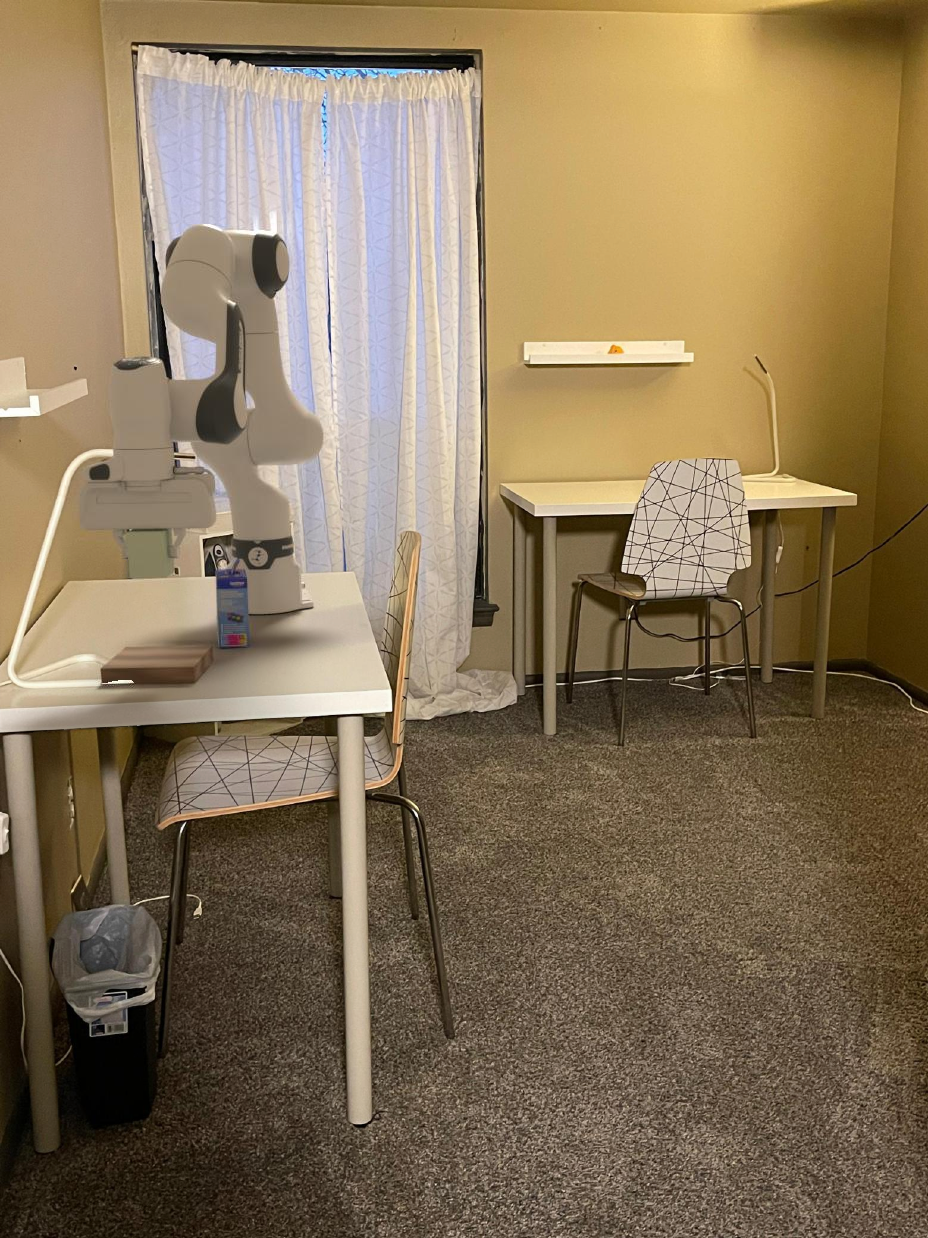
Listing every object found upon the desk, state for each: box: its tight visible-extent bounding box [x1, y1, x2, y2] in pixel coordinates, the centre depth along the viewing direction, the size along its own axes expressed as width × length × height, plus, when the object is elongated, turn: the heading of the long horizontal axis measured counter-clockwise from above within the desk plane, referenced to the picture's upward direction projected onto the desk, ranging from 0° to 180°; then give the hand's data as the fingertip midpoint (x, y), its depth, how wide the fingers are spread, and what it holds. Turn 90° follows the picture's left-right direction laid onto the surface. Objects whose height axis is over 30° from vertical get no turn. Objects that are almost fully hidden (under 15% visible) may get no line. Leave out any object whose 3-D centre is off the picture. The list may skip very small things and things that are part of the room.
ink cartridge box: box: [214, 557, 250, 649], centre depth 199 cm, size 10×6×14 cm, turn 13°
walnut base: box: [99, 644, 214, 685], centre depth 181 cm, size 14×14×2 cm
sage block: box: [125, 529, 175, 579], centre depth 177 cm, size 6×6×7 cm
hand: (151, 558), depth 177 cm, fingers closed on sage block, 5 cm apart
